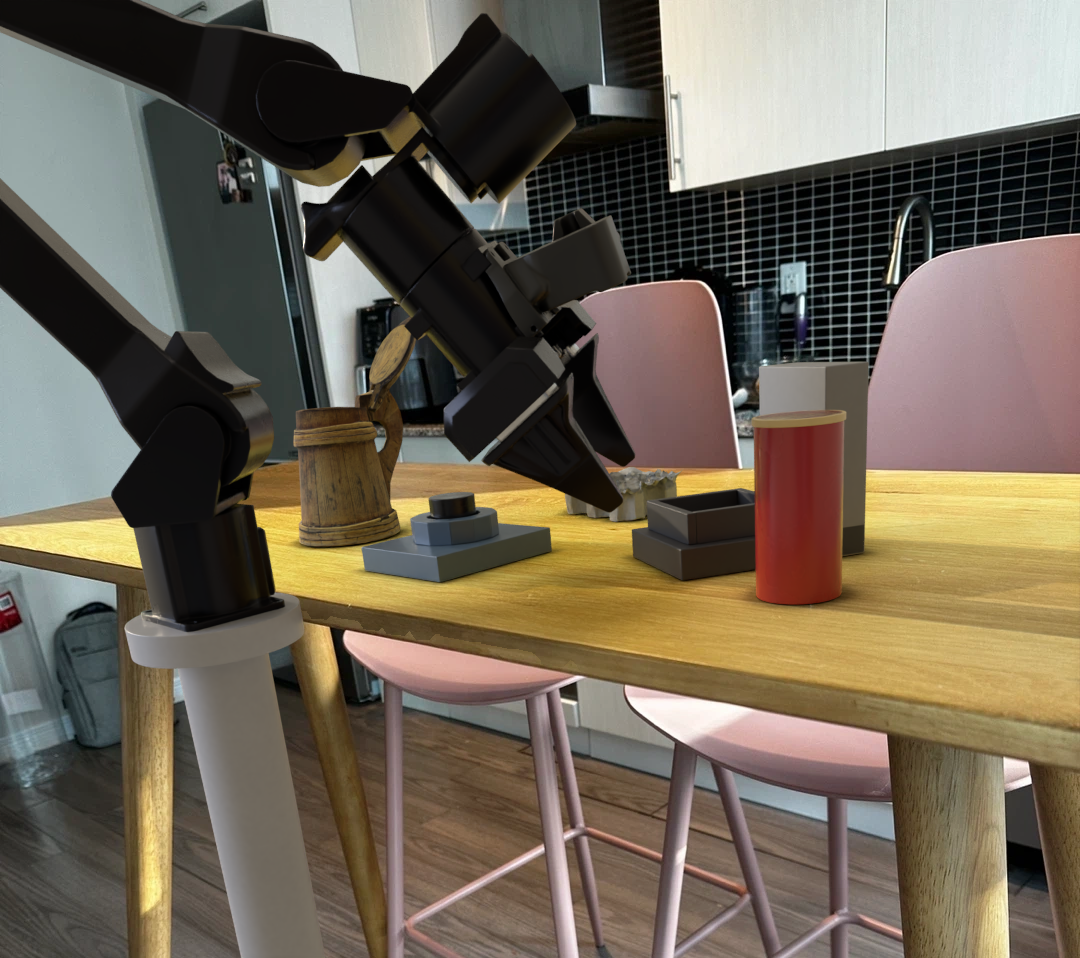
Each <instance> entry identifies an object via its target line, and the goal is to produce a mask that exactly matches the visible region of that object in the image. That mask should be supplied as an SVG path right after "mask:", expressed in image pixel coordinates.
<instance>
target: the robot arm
mask: <svg viewBox="0 0 1080 958" xmlns="http://www.w3.org/2000/svg"><path fill="white" fill-rule="evenodd" d="M0 33H1V34H2V35H5V36H8V37H11V38H13V39H14V40H18V41H20V42H22V43H24V44H26V45H29V46H31V47H34V48H37V49H39V50H41V51H43V52H46V53H49V54H51V55H53V56H56V57H58V58H61V59H63V60H66V61H68V62H70V63H73V64H75V65H77V66H80V67H83V68H84V69H87V70H89V71H91V72H94V73H97V74H99V75H101V76H104V77H107V78H109V79H111V80H114V81H117V82H119V83H121V84H123V85H126V86H128V87H130V88H133V89H136V90H138V91H140V92H143V93H145V94H148V95H150V96H152V97H154V98H157V99H160V100H161V101H164V102H167V103H169V104H171V105H174V106H176V107H179V108H182V109H183V110H185V111H187V112H189V113H191V114H192V115H193V116H195V117H197V118H198V119H200V120H201V121H203V122H204V123H206V124H207V125H210V126H211V127H212V128H214V129H216V130H217V131H219V132H220V133H222V134H223V135H225V136H226V137H228V138H229V139H231V140H233V141H234V142H236V143H237V144H239V145H241V146H242V147H244V148H245V149H247V150H248V151H250V152H251V153H253V154H255V155H256V156H258V157H259V158H260V159H262V160H264V161H265V162H267V163H269V164H270V165H272V166H273V167H275V168H277V169H278V170H280V171H281V172H283V173H284V174H286V175H287V176H289V177H290V178H292V179H294V180H296V181H298V182H300V183H302V184H305V185H308V186H309V185H310V186H313V187H318V188H323V187H330V186H333V185H334V184H336V183H339V182H340V181H343V180H345V179H346V178H348V177H349V176H350V177H349V178H348V179H347V180H346V181H345V182H344V183H343V184H342V185H341V186H340V187H339V189H337V190H336V192H335V193H334V194H333V195H332V196H331V197H330V198H329V199H328V200H327V201H326V202H323V203H322V202H321V203H320V202H319V203H317V202H310V201H303V202H302V203H301V204H300V211H301V213H302V217H303V222H304V223H303V224H304V231H303V233H304V234H303V246H302V251H303V253H304V255H306V256H307V257H309V258H311V259H313V260H316V261H318V262H325V261H326V260H328V259H329V257H331V255H332V254H333V253H335V251H336V250H337V249H338V248H339V247H340V246H341V245H342V244H345V245H346V246H347V248H348V249H349V250H350V251H351V252H352V253H353V254H354V256H355V257H356V258H357V259H358V260H359V261H360V263H362V265H363V266H364V267H365V268H366V269H367V270H368V271H369V273H370V274H371V275H372V276H373V277H374V278H375V279H376V280H377V281H378V283H379V284H380V285H381V286H382V287H383V288H384V289H385V290H386V291H387V293H388V294H389V295H390V296H391V297H392V298H393V299H394V301H395V302H396V303H397V304H398V305H399V306H400V307H401V308H402V309H403V310H404V312H405V313H406V314H407V316H409V317H411V319H410V320H409V321H408V322H407V324H406V325H405V326H404V327H405V328H406V329H407V330H408V331H409V332H410V333H411V334H412V336H413V337H414V338H415V339H416V341H419V340H420V339H423V338H424V337H425V336H427V338H428V339H429V340H430V341H431V342H432V343H433V344H434V346H435V347H436V348H437V349H438V350H439V351H440V352H441V353H442V354H443V355H444V357H445V358H446V359H447V360H448V361H449V362H450V364H452V366H453V367H454V368H455V369H456V370H457V371H458V372H459V374H461V376H462V377H463V379H461V380H460V382H458V383H457V384H456V386H457V387H458V388H459V389H460V390H461V391H460V392H459V393H458V394H457V395H456V396H455V397H454V398H453V399H452V400H451V401H450V402H449V403H448V404H447V405H446V406H445V407H444V408H443V435H444V436H445V438H446V439H447V440H448V441H449V442H450V443H451V444H452V445H453V447H454V448H455V449H456V450H457V451H458V452H459V453H460V454H461V455H462V456H463V457H464V458H465V460H466V461H468V463H470V462H472V461H473V460H475V458H476V457H478V456H479V455H480V454H481V453H482V452H483V451H484V450H485V449H486V448H487V447H488V446H489V445H490V444H491V443H493V442H494V441H495V440H496V439H497V441H496V442H495V443H494V444H493V445H492V446H491V447H490V448H489V449H488V450H487V452H485V454H484V455H483V457H482V458H481V460H480V461H481V462H482V463H483V464H484V465H485V466H488V467H491V466H496V467H499V468H501V469H504V470H507V471H509V472H511V473H514V474H516V475H519V476H522V477H523V478H527V479H530V480H532V481H534V482H537V483H539V484H541V485H544V486H546V487H549V488H552V489H553V490H556V491H558V492H560V493H563V494H564V495H565V494H567V495H569V496H571V497H574V498H576V499H578V500H581V501H583V502H585V503H587V504H590V505H592V506H594V507H596V508H599V509H601V510H603V511H605V512H608V513H610V512H613V511H614V510H615V509H616V508H617V507H619V506H620V505H621V504H622V503H623V496H622V494H621V493H620V491H619V489H618V487H617V486H616V484H615V482H614V481H613V479H612V477H611V476H610V474H609V473H610V472H609V471H608V469H607V468H606V466H605V465H604V463H603V462H602V460H601V458H600V457H599V455H600V456H602V457H604V458H605V459H607V460H609V461H611V462H612V463H614V464H616V465H618V466H619V467H623V468H624V467H625V468H626V466H628V465H629V464H630V463H632V462H633V461H634V459H636V450H635V449H634V447H633V445H632V443H631V442H630V440H629V437H628V435H627V433H626V431H625V430H624V428H623V425H622V424H621V422H620V420H619V418H618V416H617V414H616V412H615V410H614V408H613V406H612V404H611V402H610V400H609V398H608V396H607V394H606V393H605V390H604V388H603V385H602V384H601V381H600V379H599V377H598V375H597V359H598V358H597V357H598V348H599V343H600V342H599V341H600V337H599V336H600V335H599V333H598V332H596V333H595V334H594V335H593V336H592V337H591V338H590V339H588V341H586V342H585V343H584V344H583V345H582V346H581V347H579V346H578V345H577V343H578V342H579V341H580V340H581V339H582V338H583V337H586V336H588V335H589V333H591V331H593V329H594V328H595V326H596V325H597V322H596V321H595V320H594V319H593V318H592V316H591V315H590V314H589V313H588V311H587V310H586V309H585V308H584V307H583V305H582V304H581V303H580V302H579V300H577V299H580V298H581V297H582V298H583V297H584V296H586V295H589V294H591V293H593V292H598V293H603V292H606V291H609V290H611V289H613V288H615V287H617V286H618V285H621V284H623V283H624V282H626V281H628V277H629V276H631V274H632V271H631V269H630V265H629V263H628V259H627V257H626V255H625V251H624V248H623V245H622V243H621V234H620V233H619V232H618V231H617V228H616V225H615V222H614V220H613V217H612V215H608V216H604V217H603V218H600V219H599V220H597V221H596V220H594V219H593V218H592V217H591V215H589V213H587V211H585V210H584V208H582V207H580V208H578V209H575V210H574V211H572V212H569V213H567V214H565V215H563V216H561V217H558V218H556V219H554V220H553V230H552V241H551V242H548V243H545V244H544V245H541V246H539V247H537V248H536V249H533V250H531V251H529V252H527V253H525V254H523V255H520V256H517V255H516V254H514V252H513V251H512V250H511V249H510V248H509V246H508V245H507V244H506V243H505V242H503V241H499V242H498V241H497V240H493V241H491V242H487V241H486V239H485V238H484V237H483V236H482V235H481V233H479V231H478V230H477V229H476V228H475V226H473V224H472V223H471V222H470V221H469V219H467V217H466V216H465V215H464V213H462V211H461V210H460V208H458V206H457V205H456V204H455V203H454V201H452V200H451V198H450V197H449V196H448V195H447V194H446V192H445V191H444V190H443V189H442V187H441V186H440V185H439V184H438V182H436V180H435V179H434V178H433V176H431V174H430V173H429V172H428V170H427V169H425V167H424V166H423V165H422V164H421V162H420V161H421V159H423V157H424V156H426V154H427V155H428V156H429V157H430V158H431V159H432V160H433V162H434V163H435V164H436V166H437V167H438V168H439V169H440V170H441V171H442V173H443V174H444V175H445V176H446V177H447V179H448V180H449V181H450V183H452V185H453V186H454V187H455V188H456V189H457V191H458V192H459V193H460V194H461V195H462V196H463V197H464V199H466V200H467V202H469V203H470V204H473V202H474V201H476V200H477V198H478V199H479V200H480V201H482V200H483V198H485V196H487V195H488V196H489V197H490V198H491V199H492V200H494V201H495V202H496V203H497V204H499V205H500V204H501V203H502V202H503V201H504V200H505V198H507V196H509V194H510V193H512V191H514V190H515V189H516V188H517V186H518V185H519V184H520V183H521V182H522V181H524V179H525V178H526V177H527V176H528V175H530V173H531V172H532V171H533V170H534V169H535V168H536V167H537V166H538V165H539V164H540V163H541V162H542V161H543V160H544V159H545V158H546V157H547V156H548V155H549V154H550V153H551V152H552V151H553V150H554V148H555V147H556V146H557V145H558V144H559V143H560V142H562V140H563V139H564V138H566V136H567V135H568V134H569V133H570V132H572V130H573V129H574V128H575V127H576V126H577V121H576V117H575V115H574V113H573V111H572V109H571V107H570V105H569V103H568V102H567V100H566V98H565V97H564V95H563V93H562V91H561V90H560V89H559V87H558V85H557V84H556V83H555V81H554V80H553V79H552V77H551V76H550V74H549V73H548V72H547V70H546V69H545V68H544V66H543V65H542V63H540V61H539V60H538V58H537V57H536V56H535V55H534V54H533V53H530V54H529V55H528V53H527V52H526V51H525V50H524V48H522V47H521V46H520V45H519V44H518V42H516V40H514V39H513V38H512V37H511V36H510V35H508V33H506V32H504V31H503V30H501V29H500V28H499V27H498V25H497V24H496V23H495V22H494V20H493V19H492V17H490V15H489V14H488V13H486V12H481V13H480V14H478V16H477V17H476V18H475V19H474V20H473V21H472V22H471V24H470V25H468V27H467V28H466V29H465V30H464V32H463V34H461V35H462V36H461V38H460V39H459V41H458V43H457V44H456V45H455V47H454V48H453V49H452V51H450V53H449V54H448V55H447V56H446V57H445V58H444V59H443V60H442V61H441V63H440V64H438V66H436V68H435V69H434V70H433V71H432V72H431V74H429V75H428V76H427V78H425V80H424V81H423V82H422V83H421V84H420V85H419V86H418V87H417V89H416V90H415V91H414V92H413V91H412V89H411V87H410V86H409V85H407V84H406V83H405V84H404V83H399V82H396V81H392V80H390V79H389V80H386V79H381V78H377V77H372V76H368V75H364V74H359V73H354V72H349V71H346V70H343V68H342V67H341V65H340V63H338V61H337V60H336V59H335V58H334V57H333V56H332V55H331V54H330V53H329V52H328V51H326V50H324V49H323V48H321V47H320V46H318V45H317V44H315V43H314V42H312V41H309V40H305V39H302V38H297V37H293V36H288V35H285V34H279V33H274V32H271V31H267V30H262V29H257V28H252V27H247V26H244V25H243V26H242V25H230V24H216V23H207V22H206V23H205V22H201V21H198V20H193V19H187V18H184V17H181V16H178V15H176V14H173V13H171V12H169V11H167V10H164V9H162V8H159V7H157V6H155V5H152V4H150V3H148V2H146V1H143V0H0ZM388 157H392V158H391V159H390V160H388V162H386V163H385V164H384V165H383V166H382V167H380V169H378V170H377V171H376V172H375V173H374V174H373V175H372V174H371V173H370V172H369V170H367V168H366V167H365V166H364V165H363V164H361V162H364V161H370V160H377V159H383V158H388ZM352 173H353V174H352ZM0 290H2V292H4V293H5V294H6V295H7V296H8V297H9V298H10V299H11V300H12V301H13V302H14V303H15V304H17V305H18V306H19V307H20V308H21V309H22V310H23V311H24V312H25V313H26V314H28V315H29V317H30V318H32V319H33V320H34V321H35V322H36V323H37V324H38V325H39V326H40V327H41V328H42V329H43V330H44V331H46V332H47V333H48V334H49V335H50V336H51V337H52V338H53V339H54V340H56V342H58V343H59V344H60V345H61V347H63V348H64V350H66V351H67V352H68V353H69V354H70V355H72V356H73V357H74V359H76V360H77V361H78V362H79V363H80V364H81V365H82V366H83V367H84V368H85V369H86V370H88V371H89V373H90V374H91V375H92V376H93V377H94V379H95V380H96V381H97V383H98V385H99V387H100V389H101V390H102V392H103V394H104V397H105V398H106V400H107V402H108V403H109V406H110V408H111V409H112V411H113V413H114V415H115V417H116V418H117V420H118V422H119V424H120V426H121V427H122V428H123V429H124V431H125V433H127V435H128V436H129V437H130V438H131V440H132V441H133V443H135V445H136V446H137V447H138V448H139V451H138V453H137V455H136V456H135V457H134V459H133V460H132V461H131V463H130V464H129V466H128V467H127V469H126V470H125V471H124V473H123V474H122V475H121V477H120V479H119V480H118V481H117V482H116V485H114V487H113V488H112V489H111V492H110V497H111V499H112V501H113V502H114V504H115V506H116V508H117V509H118V511H119V513H120V514H121V516H122V517H123V519H124V521H125V522H126V524H127V526H128V527H129V528H131V529H132V530H133V533H134V538H135V541H136V546H137V550H138V555H139V559H140V564H141V568H142V573H143V574H142V575H143V577H144V581H145V587H146V591H147V595H148V599H149V604H150V609H147V610H146V609H145V610H142V611H141V612H140V615H141V616H142V619H143V620H145V621H149V622H152V623H156V624H159V625H163V626H166V627H170V628H173V629H177V630H180V631H183V632H194V631H198V630H202V629H205V628H209V627H213V626H217V625H220V624H224V623H228V622H232V621H235V620H239V619H243V618H247V617H250V616H254V615H258V614H262V613H265V612H269V611H273V610H277V609H280V608H284V607H285V602H284V599H281V598H276V597H271V595H274V594H275V592H276V591H277V590H276V589H277V588H276V583H275V578H274V573H273V567H272V561H271V556H270V551H269V546H268V545H269V544H268V539H267V534H266V530H265V529H264V528H263V527H261V526H258V522H257V518H256V512H255V511H256V510H255V505H254V504H247V503H246V504H245V503H240V502H244V501H247V500H248V499H249V498H250V496H251V490H252V486H253V485H252V484H253V480H254V474H255V471H257V470H258V469H259V468H260V467H262V466H263V465H264V463H265V462H266V460H267V459H268V457H269V456H270V454H271V453H272V450H273V445H274V441H275V429H274V428H275V427H274V416H273V414H272V412H271V410H270V407H269V406H268V404H267V403H266V402H265V400H264V399H263V398H262V396H261V395H260V394H259V393H257V392H256V391H255V390H254V389H255V388H258V387H261V386H262V384H263V383H262V381H261V380H260V379H258V378H256V377H255V376H251V375H250V374H247V372H245V371H243V370H242V369H241V368H240V367H238V366H237V365H236V364H235V362H234V361H233V360H232V359H231V358H230V356H229V355H228V354H227V353H226V351H225V350H224V349H223V347H222V345H220V343H219V342H218V341H217V340H216V339H215V337H213V335H212V334H211V333H210V332H208V331H187V330H185V331H183V330H182V331H181V330H176V331H174V333H173V334H172V336H171V335H169V334H167V333H166V332H164V331H162V330H161V329H159V328H158V327H156V326H155V325H153V323H151V322H150V321H149V320H148V319H147V318H146V317H145V316H144V314H142V313H141V312H140V311H139V310H138V309H137V308H135V306H133V305H132V303H130V302H129V300H127V299H126V298H125V297H124V296H123V294H121V293H120V292H119V291H118V290H117V289H116V288H115V287H114V286H113V285H112V284H111V283H110V282H108V280H106V279H105V278H104V277H103V275H102V274H100V273H99V272H98V271H97V270H96V269H95V268H94V267H93V266H92V265H91V264H90V263H89V262H88V261H87V260H86V259H85V258H84V257H83V256H82V255H81V254H80V253H78V252H77V251H76V249H75V248H74V247H72V246H71V245H70V244H69V243H68V242H67V241H66V239H64V238H63V237H62V236H61V235H60V234H59V233H57V231H56V230H55V229H54V228H53V227H52V226H50V224H49V223H47V222H46V220H45V219H43V218H42V217H41V216H40V214H38V213H37V212H36V211H35V210H34V209H33V208H32V207H31V206H30V205H29V204H28V203H27V202H25V200H23V199H22V198H21V197H20V196H19V194H17V193H16V192H15V191H14V189H12V188H11V187H10V186H9V185H8V184H7V183H6V182H5V181H4V180H3V179H2V178H0Z"/></svg>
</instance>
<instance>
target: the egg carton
mask: <svg viewBox="0 0 1080 958" xmlns="http://www.w3.org/2000/svg"><path fill="white" fill-rule="evenodd" d="M682 472H683V469H681V470H680V471H678V472H675V471H673V470H671V471H669V472H668V471H665V470H661V469H659V468H657V469H656V470H655V471H651V470H647V471H642V470H640V469H638V468H637V467H635V466H629V467H625V468H623V469H620V470H619V471H611V472H608V473H609V474H610V476H611V477H612V479H613V481H614V482H615V484H616V486H617V487H618V489H619V491H620V493H621V494H622V496H623V503H622V504H621V505H620V506H619V507H617V508H616V509H615V510H614V511H613V512H610V513H608V512H605V511H603V510H601V509H599V508H596V507H594V506H592V505H590V504H587V503H585V502H583V501H581V500H578V499H576V498H574V497H571V496H569V495H567V494H565V493H564V500H565V505H566V511H567V514H569V515H580V514H587V517H588V518H594V519H597V518H607V517H609V521H611V522H626V521H636V520H640V519H645V518H646V516H647V500H655V499H662V498H670V497H677V496H678V488H677V487H678V486H677V478H678V476H679V475H680V474H681V473H682Z"/></svg>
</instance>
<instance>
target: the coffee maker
mask: <svg viewBox="0 0 1080 958" xmlns="http://www.w3.org/2000/svg"><path fill="white" fill-rule="evenodd" d="M869 364H870V363H869V361H813V362H812V361H803V362H802V361H799V362H797V361H796V362H790V363H789V362H788V363H777V364H769V365H760V366H759V367H758V384H759V386H758V388H759V395H758V397H759V416H761V415H767V414H774V413H783V412H794V411H809V410H842V411H846V420H844V471H843V539H842V557H848V556H853V555H860V554H864V553H865V547H866V546H865V543H866V542H865V541H866V540H865V539H866V535H865V534H866V501H867V500H866V498H867V497H866V495H867V493H866V492H867V455H868V454H867V452H868V408H869V407H868V406H869V366H870V365H869ZM646 516H647V518H646V519H647V526H645V527H639V528H633V529H631V544H632V557H633V558H635V559H636V560H639V561H641V562H643V563H645V564H647V565H649V566H652V567H654V568H655V569H658V570H660V571H662V572H664V573H666V574H668V575H670V576H672V577H673V578H676V579H678V580H681V581H689V580H695V579H702V578H709V577H715V576H722V575H727V574H735V573H743V572H747V571H754V570H755V571H756V557H755V490H752V489H747V488H742V487H737V488H731V489H723V490H716V491H710V492H709V491H708V492H700V493H693V494H685V495H677V497H670V498H662V499H655V500H647V515H646Z"/></svg>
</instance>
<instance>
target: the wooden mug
mask: <svg viewBox="0 0 1080 958" xmlns="http://www.w3.org/2000/svg"><path fill="white" fill-rule="evenodd" d="M410 319H411V317H410V316H409V317H407V318H405V319H404V320H402V321H401V322H400V323H399V324H398V325H396V326H395V327H393V329H391V331H390V332H389V333H388V334H387V335H386V337H385V338H384V339H383V341H382V342H381V344H380V345H379V347H378V349H377V351H376V353H375V355H374V358H373V360H372V363H371V365H370V370H369V377H368V379H369V389H368V392H364V393H360V394H357V395H355V399H354V406H328V407H315V408H307V409H299V410H296V411H295V424H296V428H295V429H294V430H293V447H294V448H295V449H297V455H298V457H297V458H298V473H299V495H300V512H301V513H300V517H301V519H300V521H299V522H298V543H300V544H302V545H304V546H308V547H325V548H327V547H344V546H351V545H358V544H365V543H370V542H375V541H380V540H385V539H388V538H391V537H393V536H395V535H397V534H399V532H401V528H402V527H401V524H400V519H399V515H398V511H397V510H396V509H395V508H393V507H392V502H391V482H392V478H393V475H394V471H395V468H396V465H397V463H398V462H397V461H398V459H399V457H400V452H401V449H402V444H403V437H404V424H403V418H402V413H401V410H400V408H399V405H398V403H397V401H396V399H395V398H394V396H393V395H392V393H391V391H390V389H391V388H392V386H393V385H394V384H395V383H396V382H397V380H398V379H399V377H400V376H401V374H402V373H403V371H404V370H405V368H406V367H407V365H408V363H409V361H410V358H411V357H412V354H413V351H414V349H415V346H416V342H417V340H416V339H415V338H414V337H413V336H412V334H411V333H410V332H409V331H408V330H407V329H406V328H405V327H404V326H405V325H406V324H407V322H408V321H409V320H410ZM373 422H376V423H377V422H378V423H379V424H380V425H381V427H383V429H384V433H385V441H384V443H383V446H382V448H381V449H380V450H379V451H378V449H377V445H376V438H377V437H378V431H377V429H376V428H375V425H374V424H373Z"/></svg>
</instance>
